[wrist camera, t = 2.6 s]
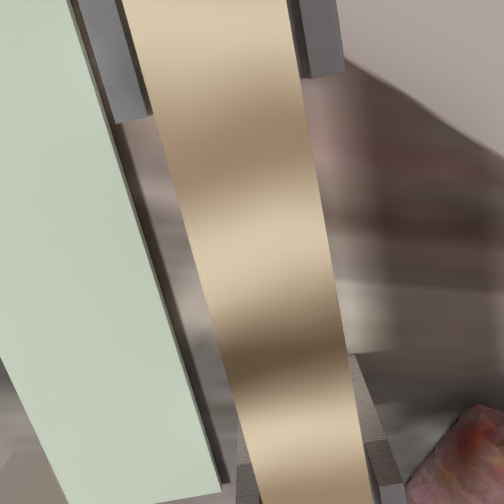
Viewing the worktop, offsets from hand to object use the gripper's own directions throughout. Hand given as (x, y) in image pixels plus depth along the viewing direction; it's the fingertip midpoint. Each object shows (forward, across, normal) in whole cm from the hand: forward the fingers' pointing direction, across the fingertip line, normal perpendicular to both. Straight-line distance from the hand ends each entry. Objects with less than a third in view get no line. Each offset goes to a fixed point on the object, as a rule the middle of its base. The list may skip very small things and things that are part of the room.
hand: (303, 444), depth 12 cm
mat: (+15, -12, 0) cm, 19 cm away
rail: (+8, 0, 0) cm, 8 cm away
